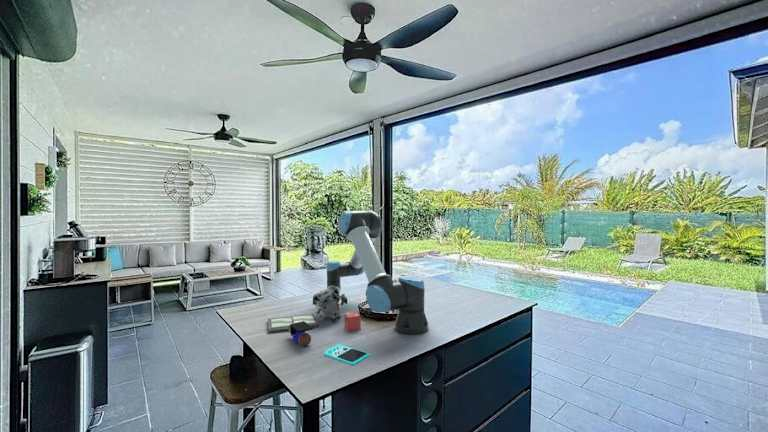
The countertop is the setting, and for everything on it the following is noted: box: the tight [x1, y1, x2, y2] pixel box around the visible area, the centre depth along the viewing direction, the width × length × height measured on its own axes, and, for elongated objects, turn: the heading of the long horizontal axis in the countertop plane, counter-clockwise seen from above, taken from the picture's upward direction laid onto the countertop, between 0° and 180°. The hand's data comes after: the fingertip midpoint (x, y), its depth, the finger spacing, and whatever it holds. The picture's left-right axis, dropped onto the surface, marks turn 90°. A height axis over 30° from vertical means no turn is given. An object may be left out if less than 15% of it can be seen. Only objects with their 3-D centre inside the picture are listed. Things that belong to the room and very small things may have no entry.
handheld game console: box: [323, 343, 371, 366], centre depth 131 cm, size 10×16×1 cm, turn 55°
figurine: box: [312, 288, 341, 322], centre depth 168 cm, size 9×12×15 cm
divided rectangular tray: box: [267, 313, 320, 334], centre depth 163 cm, size 16×22×2 cm
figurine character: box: [288, 321, 314, 347], centre depth 144 cm, size 7×8×15 cm
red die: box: [344, 311, 362, 331], centre depth 158 cm, size 6×6×6 cm
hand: (328, 306), depth 164 cm, fingers closed on figurine, 10 cm apart
